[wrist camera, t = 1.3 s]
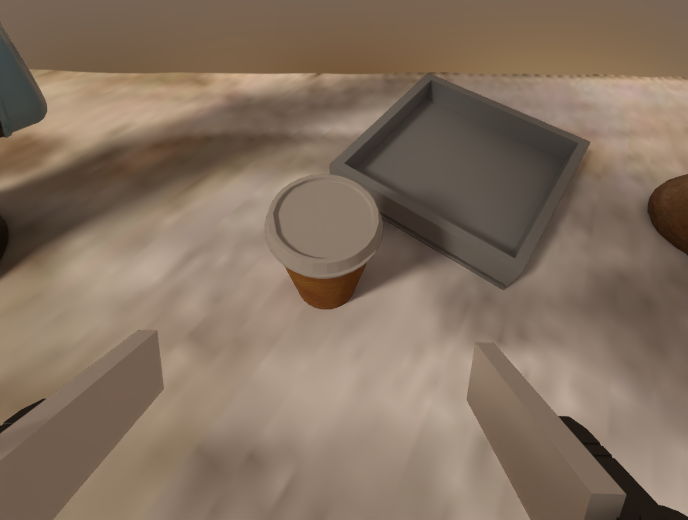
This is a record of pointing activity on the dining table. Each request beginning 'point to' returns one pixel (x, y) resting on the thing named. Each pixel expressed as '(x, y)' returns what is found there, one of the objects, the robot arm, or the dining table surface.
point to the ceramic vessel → (671, 211)
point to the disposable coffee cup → (324, 236)
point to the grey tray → (464, 175)
